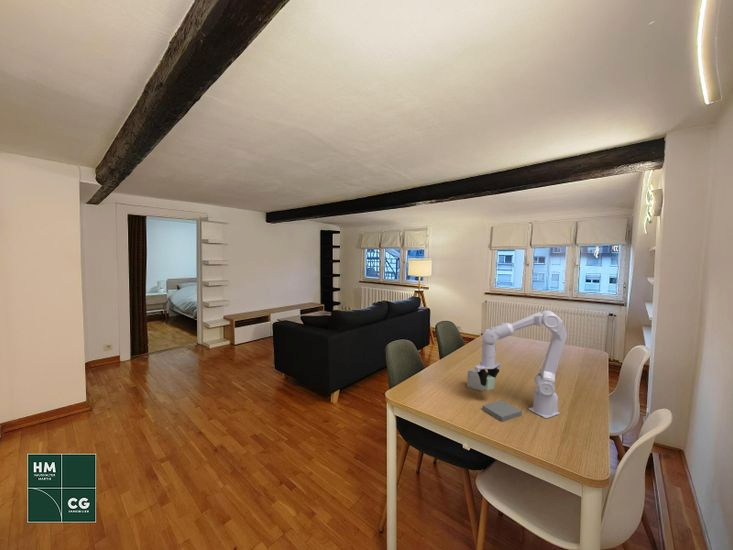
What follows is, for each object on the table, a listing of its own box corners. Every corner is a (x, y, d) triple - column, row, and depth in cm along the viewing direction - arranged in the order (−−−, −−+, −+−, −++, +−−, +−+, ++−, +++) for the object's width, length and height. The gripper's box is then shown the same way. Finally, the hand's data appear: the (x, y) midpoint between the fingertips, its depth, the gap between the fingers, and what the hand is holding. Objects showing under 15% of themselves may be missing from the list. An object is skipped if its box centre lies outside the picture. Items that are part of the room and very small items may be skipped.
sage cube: (486, 384, 135) (487, 374, 135) (494, 388, 131) (494, 377, 131) (479, 386, 133) (480, 375, 133) (487, 390, 129) (487, 379, 129)
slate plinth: (501, 404, 130) (501, 400, 130) (521, 415, 121) (521, 410, 121) (482, 409, 125) (482, 405, 124) (501, 421, 116) (502, 417, 115)
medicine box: (484, 388, 146) (485, 371, 145) (483, 391, 142) (484, 374, 141) (468, 384, 150) (469, 368, 149) (466, 387, 146) (467, 371, 145)
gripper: (492, 350, 138) (491, 378, 139) (470, 354, 132) (468, 383, 132) (505, 355, 132) (503, 384, 132) (482, 359, 125) (480, 389, 126)
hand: (487, 384), depth 132 cm, fingers closed on sage cube, 4 cm apart
